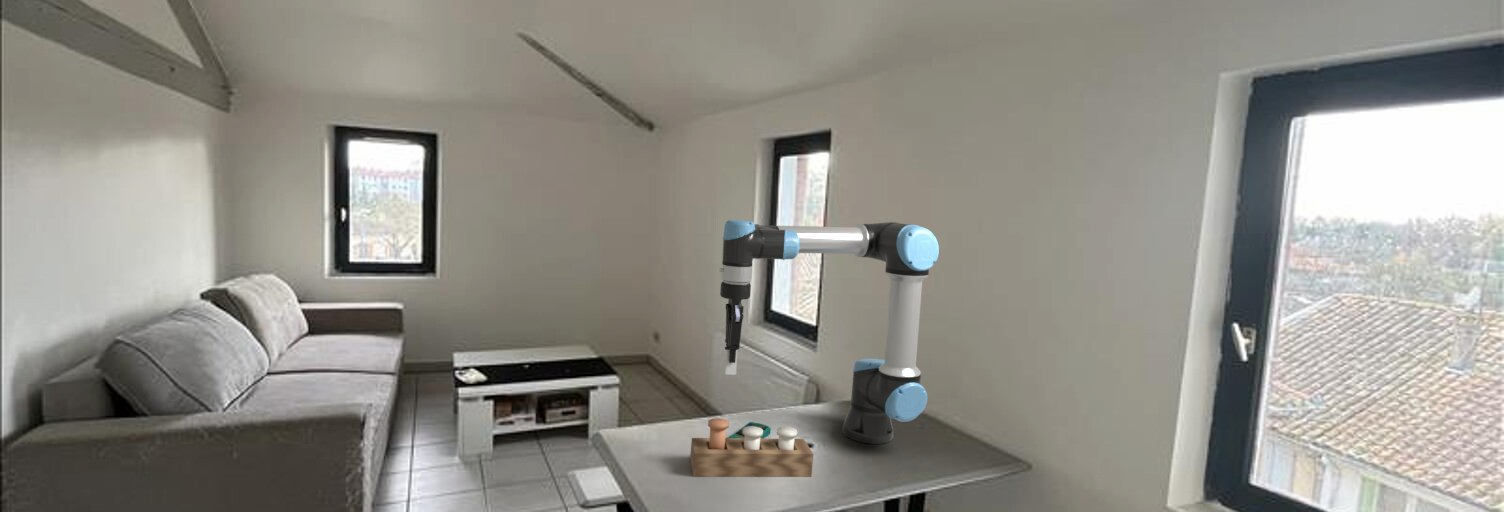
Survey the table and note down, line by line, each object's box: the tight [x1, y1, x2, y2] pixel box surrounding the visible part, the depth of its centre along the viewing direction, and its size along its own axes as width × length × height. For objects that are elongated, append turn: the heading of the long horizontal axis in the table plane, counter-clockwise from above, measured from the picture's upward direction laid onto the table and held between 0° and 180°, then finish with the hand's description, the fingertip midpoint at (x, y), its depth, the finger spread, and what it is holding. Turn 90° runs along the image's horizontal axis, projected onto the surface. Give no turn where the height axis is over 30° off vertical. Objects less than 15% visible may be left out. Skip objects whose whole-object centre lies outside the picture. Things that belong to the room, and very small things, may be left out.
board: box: [689, 437, 814, 478], centre depth 174 cm, size 30×10×6 cm, turn 100°
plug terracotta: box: [707, 417, 730, 450], centre depth 172 cm, size 5×5×9 cm
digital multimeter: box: [728, 421, 772, 439], centre depth 194 cm, size 7×15×3 cm, turn 156°
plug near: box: [776, 426, 798, 450], centre depth 175 cm, size 5×5×9 cm
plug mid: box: [743, 426, 763, 450], centre depth 174 cm, size 5×5×9 cm
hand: (730, 373), depth 172 cm, fingers closed
